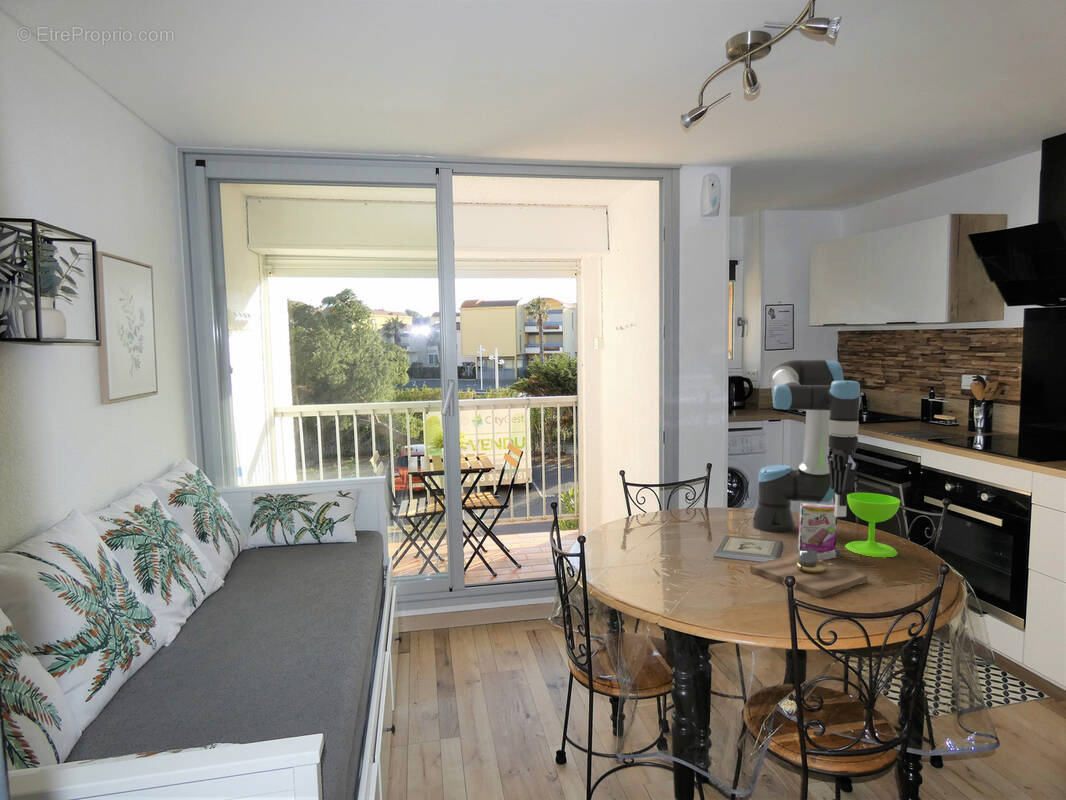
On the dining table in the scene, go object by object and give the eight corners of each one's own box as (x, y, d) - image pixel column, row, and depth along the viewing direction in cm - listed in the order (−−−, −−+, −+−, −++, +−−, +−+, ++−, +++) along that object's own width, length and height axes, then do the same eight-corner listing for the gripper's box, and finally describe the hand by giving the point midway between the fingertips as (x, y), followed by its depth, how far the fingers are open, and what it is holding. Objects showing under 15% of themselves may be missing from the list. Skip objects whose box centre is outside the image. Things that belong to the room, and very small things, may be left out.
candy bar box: (799, 554, 216) (801, 505, 214) (797, 549, 220) (799, 502, 219) (836, 557, 213) (838, 508, 211) (833, 552, 217) (835, 504, 216)
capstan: (812, 574, 190) (813, 556, 189) (790, 566, 197) (791, 548, 197) (849, 566, 197) (850, 548, 196) (827, 558, 204) (828, 541, 203)
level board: (750, 572, 199) (750, 565, 199) (796, 558, 211) (796, 552, 211) (820, 598, 179) (821, 590, 179) (867, 581, 191) (867, 574, 190)
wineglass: (848, 540, 230) (850, 490, 229) (900, 548, 221) (902, 496, 220) (840, 552, 217) (843, 499, 216) (895, 561, 208) (897, 506, 207)
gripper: (868, 438, 178) (865, 522, 180) (844, 431, 191) (841, 510, 193) (842, 438, 178) (838, 522, 180) (819, 431, 191) (816, 510, 193)
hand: (840, 515), depth 187 cm, fingers closed
